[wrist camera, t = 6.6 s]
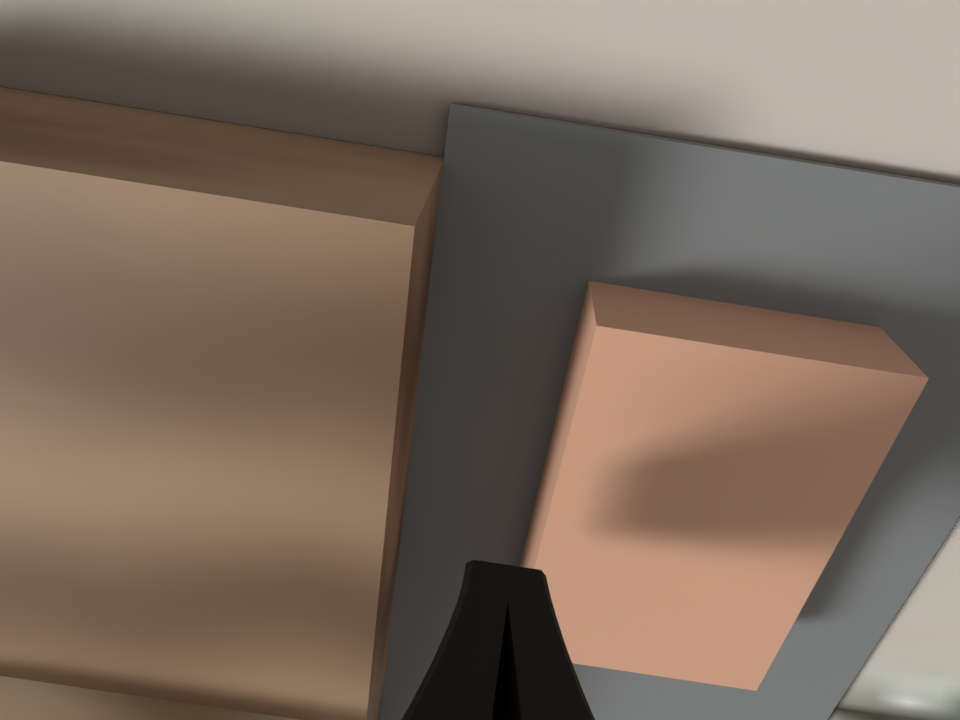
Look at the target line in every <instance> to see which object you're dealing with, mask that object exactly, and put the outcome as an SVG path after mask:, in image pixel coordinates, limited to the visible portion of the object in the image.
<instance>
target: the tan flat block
mask: <svg viewBox="0 0 960 720" xmlns="http://www.w3.org/2000/svg"><path fill="white" fill-rule="evenodd" d="M443 161H444V157H439V156H433V155H426V154H420V153H414V152H408V151H401V150H395V149H389V148H382V147H376V146H370V145H364V144H357V143H351V142H345V141H338V140H332V139H326V138H320V137H313V136H307V135H301V134H294V133H288V132H282V131H276V130H269V129H263V128H257V127H250V126H244V125H238V124H232V123H225V122H219V121H213V120H206V119H200V118H194V117H188V116H181V115H175V114H169V113H162V112H156V111H150V110H143V109H137V108H131V107H125V106H118V105H112V104H106V103H99V102H93V101H87V100H81V99H74V98H68V97H62V96H55V95H49V94H43V93H37V92H30V91H24V90H18V89H11V88H5V87H0V676H4V677H11V678H18V679H25V680H32V681H39V682H45V683H52V684H59V685H66V686H73V687H80V688H86V689H93V690H100V691H107V692H114V693H121V694H127V695H134V696H141V697H148V698H155V699H162V700H168V701H175V702H182V703H189V704H196V705H203V706H209V707H216V708H223V709H230V710H237V711H244V712H250V713H257V714H264V715H271V716H278V717H285V718H291V719H298V720H380V714H381V705H382V696H383V688H384V679H385V670H386V661H387V652H388V644H389V635H390V626H391V617H392V609H393V600H394V591H395V582H396V573H397V565H398V556H399V547H400V538H401V529H402V521H403V512H404V503H405V494H406V486H407V477H408V468H409V459H410V450H411V442H412V433H413V424H414V415H415V407H416V398H417V389H418V380H419V371H420V363H421V354H422V345H423V336H424V327H425V319H426V310H427V301H428V292H429V284H430V275H431V266H432V257H433V248H434V240H435V231H436V222H437V213H438V205H439V196H440V187H441V178H442V169H443Z"/></svg>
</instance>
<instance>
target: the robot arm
mask: <svg viewBox="0 0 960 720" xmlns="http://www.w3.org/2000/svg"><path fill="white" fill-rule="evenodd" d="M402 720H595V718H594V716H593V714H592V711H591V709H590V707H589V704H588V702H587V700H586V697H585V695H584V692H583V690H582V687H581V685H580V682H579V680H578V677H577V674H576V672H575V669H574V667H573V664H572V661H571V659H570V656H569V653H568V650H567V648H566V645H565V642H564V639H563V636H562V633H561V630H560V627H559V624H558V620H557V617H556V614H555V610H554V607H553V603H552V600H551V596H550V592H549V588H548V583H547V578H546V575H545V574H544V573H543V571H542V570H539V569H532V568H526V567H519V566H512V565H506V564H499V563H492V562H486V561H479V560H471V561H469V562H467V563H466V565H465V571H464V576H463V582H462V587H461V590H460V594H459V597H458V600H457V603H456V606H455V609H454V611H453V614H452V617H451V619H450V622H449V625H448V627H447V629H446V632H445V634H444V636H443V638H442V641H441V643H440V645H439V648H438V650H437V652H436V654H435V657H434V659H433V661H432V663H431V665H430V667H429V669H428V671H427V673H426V675H425V677H424V679H423V681H422V683H421V685H420V686H419V688H418V690H417V692H416V694H415V696H414V698H413V700H412V702H411V704H410V706H409V707H408V709H407V711H406V713H405V714H404V716H403V718H402Z"/></svg>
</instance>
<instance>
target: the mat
mask: <svg viewBox="0 0 960 720" xmlns="http://www.w3.org/2000/svg"><path fill="white" fill-rule="evenodd" d="M588 281H593V282H599V283H606V284H612V285H618V286H624V287H631V288H637V289H643V290H650V291H656V292H662V293H668V294H675V295H681V296H687V297H693V298H700V299H706V300H712V301H718V302H725V303H731V304H737V305H744V306H750V307H756V308H762V309H769V310H775V311H781V312H787V313H794V314H800V315H806V316H812V317H819V318H825V319H831V320H838V321H844V322H850V323H856V324H863V325H869V326H875V327H880V328H881V329H882V330H883V331H884V332H885V333H886V334H887V335H888V336H889V337H890V338H891V339H892V340H893V341H894V342H895V343H896V344H897V345H898V347H899V348H900V349H901V350H902V351H903V352H904V353H905V354H906V355H907V356H908V357H909V358H910V359H911V360H912V361H913V362H914V363H915V364H916V365H917V366H918V367H919V368H920V369H921V371H922V372H923V373H924V374H925V375H926V376H927V377H928V378H929V379H928V381H927V383H926V385H925V387H924V388H923V390H922V392H921V394H920V396H919V397H918V399H917V401H916V403H915V405H914V406H913V408H912V410H911V412H910V414H909V416H908V417H907V419H906V421H905V423H904V425H903V426H902V428H901V430H900V432H899V434H898V435H897V437H896V439H895V441H894V443H893V444H892V446H891V448H890V450H889V452H888V454H887V455H886V457H885V459H884V461H883V463H882V464H881V466H880V468H879V470H878V472H877V473H876V475H875V477H874V479H873V481H872V482H871V484H870V486H869V488H868V490H867V492H866V493H865V495H864V497H863V499H862V501H861V502H860V504H859V506H858V508H857V510H856V511H855V513H854V515H853V517H852V519H851V521H850V522H849V524H848V526H847V528H846V530H845V531H844V533H843V535H842V537H841V539H840V540H839V542H838V544H837V546H836V548H835V549H834V551H833V553H832V555H831V557H830V559H829V560H828V562H827V564H826V566H825V568H824V569H823V571H822V573H821V575H820V577H819V578H818V580H817V582H816V584H815V586H814V587H813V589H812V591H811V593H810V595H809V597H808V598H807V600H806V602H805V604H804V606H803V607H802V609H801V611H800V613H799V615H798V616H797V618H796V620H795V622H794V624H793V626H792V627H791V629H790V631H789V633H788V635H787V636H786V638H785V640H784V642H783V644H782V645H781V647H780V649H779V651H778V653H777V654H776V656H775V658H774V660H773V662H772V664H771V665H770V667H769V669H768V671H767V673H766V674H765V676H764V678H763V680H762V682H761V683H760V685H759V687H758V689H757V691H754V690H747V689H741V688H734V687H727V686H721V685H714V684H707V683H701V682H694V681H687V680H681V679H674V678H667V677H661V676H654V675H647V674H641V673H634V672H628V671H621V670H614V669H608V668H601V667H594V666H588V665H581V664H574V663H572V664H573V667H574V669H575V672H576V674H577V677H578V680H579V682H580V685H581V687H582V690H583V692H584V695H585V697H586V700H587V702H588V704H589V707H590V709H591V711H592V714H593V716H594V718H595V720H827V719H828V718H829V716H830V715H831V713H832V712H833V710H834V709H835V707H836V706H837V704H838V702H839V701H840V699H841V698H842V696H843V695H844V693H845V692H846V690H847V689H848V687H849V686H850V684H851V683H852V681H853V679H854V678H855V676H856V675H857V673H858V672H859V670H860V669H861V667H862V666H863V664H864V663H865V661H866V659H867V658H868V656H869V655H870V653H871V652H872V650H873V649H874V647H875V646H876V644H877V643H878V641H879V640H880V638H881V636H882V635H883V633H884V632H885V630H886V629H887V627H888V626H889V624H890V623H891V621H892V620H893V618H894V617H895V615H896V613H897V612H898V610H899V609H900V607H901V606H902V604H903V603H904V601H905V600H906V598H907V597H908V595H909V593H910V592H911V590H912V589H913V587H914V586H915V584H916V583H917V581H918V580H919V578H920V577H921V575H922V574H923V572H924V570H925V569H926V567H927V566H928V564H929V563H930V561H931V560H932V558H933V557H934V555H935V554H936V552H937V551H938V549H939V547H940V546H941V544H942V543H943V541H944V540H945V538H946V537H947V535H948V534H949V532H950V531H951V529H952V528H953V526H954V524H955V523H956V521H957V520H958V518H959V517H960V184H954V183H948V182H942V181H936V180H929V179H923V178H917V177H911V176H904V175H898V174H892V173H886V172H879V171H873V170H867V169H861V168H854V167H848V166H842V165H836V164H829V163H823V162H817V161H811V160H804V159H798V158H792V157H786V156H779V155H773V154H767V153H761V152H755V151H748V150H742V149H736V148H730V147H723V146H717V145H711V144H705V143H698V142H692V141H686V140H680V139H673V138H667V137H661V136H655V135H648V134H642V133H636V132H630V131H623V130H617V129H611V128H605V127H598V126H592V125H586V124H580V123H574V122H567V121H561V120H555V119H549V118H542V117H536V116H530V115H524V114H517V113H511V112H505V111H499V110H492V109H486V108H480V107H474V106H467V105H461V104H455V103H451V104H450V108H449V117H448V125H447V134H446V143H445V152H444V161H443V169H442V178H441V187H440V196H439V205H438V213H437V222H436V231H435V240H434V248H433V257H432V266H431V275H430V284H429V292H428V301H427V310H426V319H425V327H424V336H423V345H422V354H421V363H420V371H419V380H418V389H417V398H416V407H415V415H414V424H413V433H412V442H411V450H410V459H409V468H408V477H407V486H406V494H405V503H404V512H403V521H402V529H401V538H400V547H399V556H398V565H397V573H396V582H395V591H394V600H393V609H392V617H391V626H390V635H389V644H388V652H387V661H386V670H385V679H384V688H383V696H382V705H381V714H380V720H402V718H403V716H404V714H405V713H406V711H407V709H408V707H409V706H410V704H411V702H412V700H413V698H414V696H415V694H416V692H417V690H418V688H419V686H420V685H421V683H422V681H423V679H424V677H425V675H426V673H427V671H428V669H429V667H430V665H431V663H432V661H433V659H434V657H435V654H436V652H437V650H438V648H439V645H440V643H441V641H442V638H443V636H444V634H445V632H446V629H447V627H448V625H449V622H450V619H451V617H452V614H453V611H454V609H455V606H456V603H457V600H458V597H459V594H460V590H461V587H462V582H463V576H464V571H465V565H466V563H467V562H469V561H471V560H479V561H486V562H492V563H499V564H506V565H512V566H520V562H521V558H522V554H523V550H524V545H525V541H526V537H527V533H528V529H529V525H530V521H531V516H532V512H533V508H534V504H535V500H536V496H537V492H538V488H539V483H540V479H541V475H542V471H543V467H544V463H545V459H546V454H547V450H548V446H549V442H550V438H551V434H552V430H553V426H554V421H555V417H556V413H557V409H558V405H559V401H560V397H561V392H562V388H563V384H564V380H565V376H566V372H567V368H568V364H569V359H570V355H571V351H572V347H573V343H574V339H575V335H576V330H577V326H578V322H579V318H580V314H581V310H582V306H583V302H584V297H585V293H586V289H587V285H588Z"/></svg>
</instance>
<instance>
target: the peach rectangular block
mask: <svg viewBox="0 0 960 720" xmlns="http://www.w3.org/2000/svg"><path fill="white" fill-rule="evenodd" d="M928 379H929V378H928V377H927V376H926V375H925V374H924V373H923V372H922V371H921V369H920V368H919V367H918V366H917V365H916V364H915V363H914V362H913V361H912V360H911V359H910V358H909V357H908V356H907V355H906V354H905V353H904V352H903V351H902V350H901V349H900V348H899V347H898V345H897V344H896V343H895V342H894V341H893V340H892V339H891V338H890V337H889V336H888V335H887V334H886V333H885V332H884V331H883V330H882V329H881V328H880V327H875V326H869V325H863V324H856V323H850V322H844V321H838V320H831V319H825V318H819V317H812V316H806V315H800V314H794V313H787V312H781V311H775V310H769V309H762V308H756V307H750V306H744V305H737V304H731V303H725V302H718V301H712V300H706V299H700V298H693V297H687V296H681V295H675V294H668V293H662V292H656V291H650V290H643V289H637V288H631V287H624V286H618V285H612V284H606V283H599V282H593V281H588V285H587V289H586V293H585V297H584V302H583V306H582V310H581V314H580V318H579V322H578V326H577V330H576V335H575V339H574V343H573V347H572V351H571V355H570V359H569V364H568V368H567V372H566V376H565V380H564V384H563V388H562V392H561V397H560V401H559V405H558V409H557V413H556V417H555V421H554V426H553V430H552V434H551V438H550V442H549V446H548V450H547V454H546V459H545V463H544V467H543V471H542V475H541V479H540V483H539V488H538V492H537V496H536V500H535V504H534V508H533V512H532V516H531V521H530V525H529V529H528V533H527V537H526V541H525V545H524V550H523V554H522V558H521V562H520V566H519V567H526V568H532V569H539V570H542V571H543V573H544V574H545V575H546V578H547V583H548V588H549V592H550V596H551V600H552V603H553V607H554V610H555V614H556V617H557V620H558V624H559V627H560V630H561V633H562V636H563V639H564V642H565V645H566V648H567V650H568V653H569V656H570V659H571V661H572V663H574V664H581V665H588V666H594V667H601V668H608V669H614V670H621V671H628V672H634V673H641V674H647V675H654V676H661V677H667V678H674V679H681V680H687V681H694V682H701V683H707V684H714V685H721V686H727V687H734V688H741V689H747V690H754V691H757V689H758V687H759V685H760V683H761V682H762V680H763V678H764V676H765V674H766V673H767V671H768V669H769V667H770V665H771V664H772V662H773V660H774V658H775V656H776V654H777V653H778V651H779V649H780V647H781V645H782V644H783V642H784V640H785V638H786V636H787V635H788V633H789V631H790V629H791V627H792V626H793V624H794V622H795V620H796V618H797V616H798V615H799V613H800V611H801V609H802V607H803V606H804V604H805V602H806V600H807V598H808V597H809V595H810V593H811V591H812V589H813V587H814V586H815V584H816V582H817V580H818V578H819V577H820V575H821V573H822V571H823V569H824V568H825V566H826V564H827V562H828V560H829V559H830V557H831V555H832V553H833V551H834V549H835V548H836V546H837V544H838V542H839V540H840V539H841V537H842V535H843V533H844V531H845V530H846V528H847V526H848V524H849V522H850V521H851V519H852V517H853V515H854V513H855V511H856V510H857V508H858V506H859V504H860V502H861V501H862V499H863V497H864V495H865V493H866V492H867V490H868V488H869V486H870V484H871V482H872V481H873V479H874V477H875V475H876V473H877V472H878V470H879V468H880V466H881V464H882V463H883V461H884V459H885V457H886V455H887V454H888V452H889V450H890V448H891V446H892V444H893V443H894V441H895V439H896V437H897V435H898V434H899V432H900V430H901V428H902V426H903V425H904V423H905V421H906V419H907V417H908V416H909V414H910V412H911V410H912V408H913V406H914V405H915V403H916V401H917V399H918V397H919V396H920V394H921V392H922V390H923V388H924V387H925V385H926V383H927V381H928Z"/></svg>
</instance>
